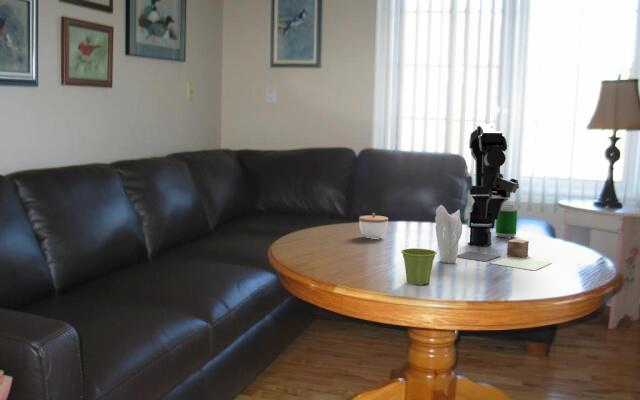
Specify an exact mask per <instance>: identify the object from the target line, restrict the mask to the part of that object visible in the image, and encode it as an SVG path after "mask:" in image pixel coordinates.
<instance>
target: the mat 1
mask: <svg viewBox="0 0 640 400" xmlns="http://www.w3.org/2000/svg"><path fill="white" fill-rule="evenodd" d="M500 257H501V255H496V254H491V253H482V252H477V251H471V250H470V251H466V252H463V253H460V254H459V253H458V254H457V259H459V258H460V259H465V260H472V261H477V262H482V263H484V262H485V263H486V262H489V261H491V260H494V259H497V258H500Z"/></svg>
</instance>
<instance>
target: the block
mask: <svg viewBox="0 0 640 400" xmlns="http://www.w3.org/2000/svg"><path fill="white" fill-rule="evenodd" d="M529 242H530V241H529V240H525V239H516V238H511V239H510V240H507V244H506V245H507V250H506V251H507V252H506V257H509V256H511V257H517V258H525V257H527V256H529Z"/></svg>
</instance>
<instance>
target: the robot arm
mask: <svg viewBox="0 0 640 400" xmlns="http://www.w3.org/2000/svg"><path fill="white" fill-rule="evenodd" d="M507 143H508V142H507V138H506V137H505V135H503V132H502V131H495V130H494V129H493V125H491V124H478V125H477V126H476V129H475V130H474V131H473V132H471V133H470V137H469V145H468V146H469V149H470V155H471V157H472V159H473V160H474V161H475V167H474V168H475V169H474V170H475V174H474V175H475V179H474V180H475V181H474V183H475V185H472V186H470V188H469V195H471V198H472V199H473V201H474V202H473V204H472V205H471V207H470V211H468V212H469V213H468V217H467V227H468V228H469V242H467V245H469V246H470V245H471V246H478V247H487V246H490V245H492V232H491V229H492V230H493V229H495V225H496V219H498V217H499V213H500V210H501V207H502V205H504V203H506V201H508V200H509V198H511V194H512V193H513V194H516V192H517V190H518V189H519V188H520V183H519V180H518V179H515V178H510V179H506V178H504V174H503V173H501V167H502V166H503V165H504V164H505V162H506V158H507V157H506V154H505V152H507V150H508V144H507Z"/></svg>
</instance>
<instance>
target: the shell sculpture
mask: <svg viewBox="0 0 640 400" xmlns="http://www.w3.org/2000/svg"><path fill="white" fill-rule="evenodd" d="M435 215H436V216H435V217H434V221H435V227H434V228H435V234H436V240H437V246H438V250H439V258H440V260H439V261H440V262H441V263H444V264H454V263H456V262H457V259H458V257H457V255H459V242H460V239H461V236H462V234H463V224H462V221H461V210H460V209H458V210H457V211H455V212H453V213H451V214H449V212H448V211H447V209H446V207H445V206H444V205H442V204H440V205H439V206H438V207H437V208H436V210H435Z"/></svg>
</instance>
